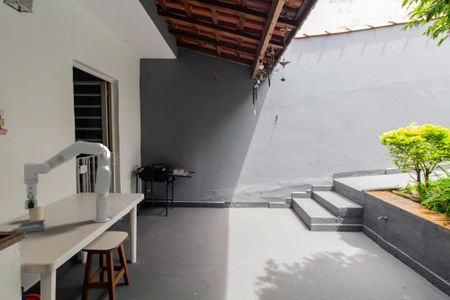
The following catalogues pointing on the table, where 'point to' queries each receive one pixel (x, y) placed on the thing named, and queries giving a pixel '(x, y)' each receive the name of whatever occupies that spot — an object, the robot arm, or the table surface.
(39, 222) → the large crate
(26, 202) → the box
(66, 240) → the table surface
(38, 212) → the coffee cup
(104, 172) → the robot arm
